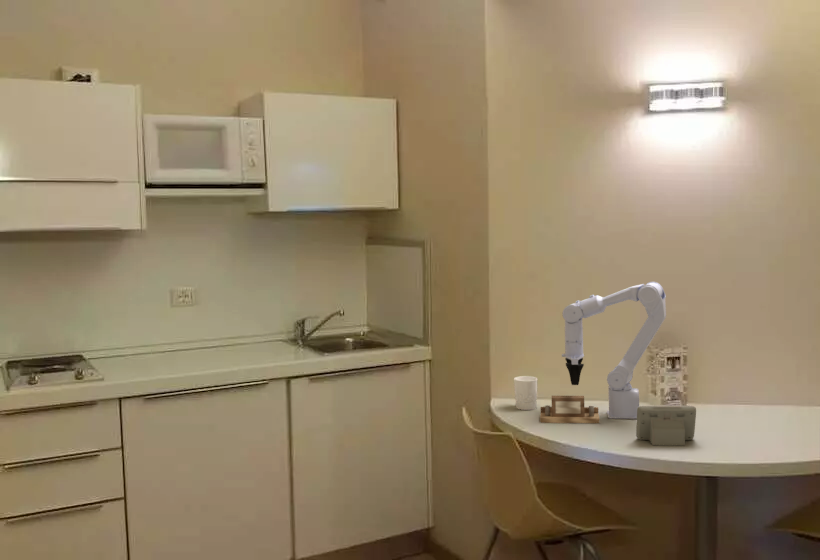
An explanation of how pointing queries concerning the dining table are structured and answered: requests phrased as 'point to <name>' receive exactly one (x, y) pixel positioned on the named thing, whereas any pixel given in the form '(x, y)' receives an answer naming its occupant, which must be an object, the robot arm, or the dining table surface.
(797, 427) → the dining table surface
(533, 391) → the white cup
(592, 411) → the wooden stand base
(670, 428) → the digital clock
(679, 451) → the dining table surface
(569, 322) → the robot arm
